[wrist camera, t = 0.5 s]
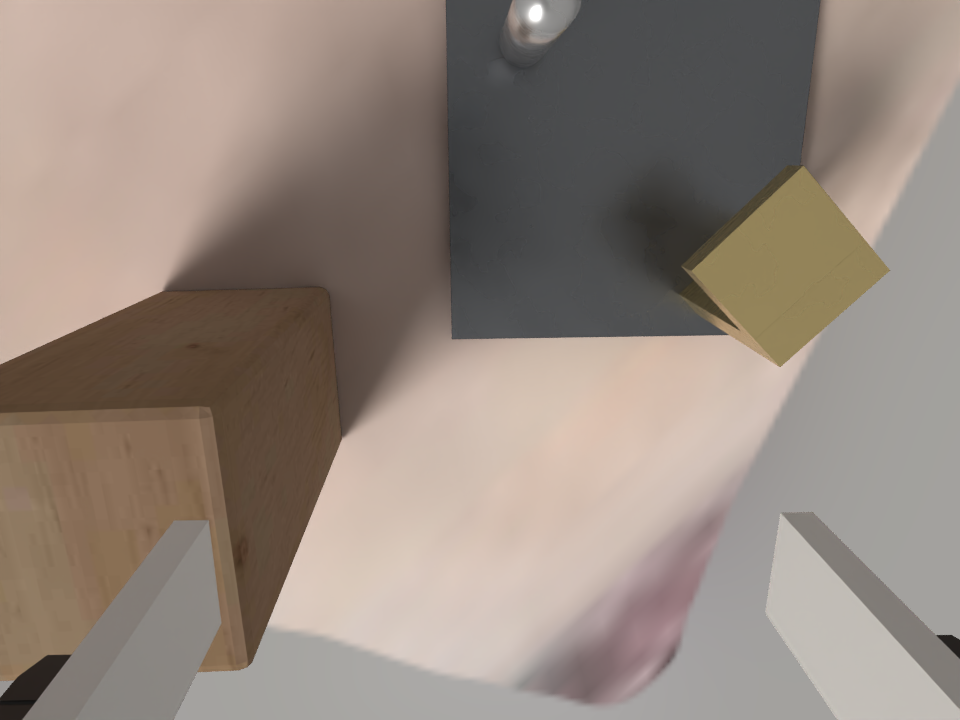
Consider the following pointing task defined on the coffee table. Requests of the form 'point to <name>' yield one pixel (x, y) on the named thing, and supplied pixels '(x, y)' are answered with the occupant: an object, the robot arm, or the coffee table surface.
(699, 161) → the plate
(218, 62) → the coffee table surface
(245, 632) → the wooden block
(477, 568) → the coffee table surface
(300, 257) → the coffee table surface
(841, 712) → the robot arm
